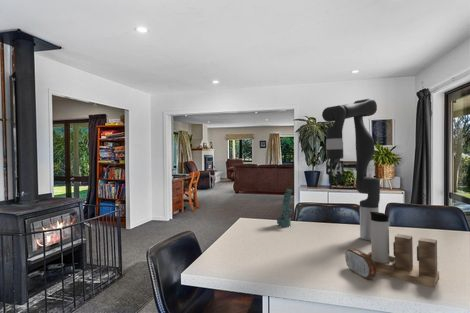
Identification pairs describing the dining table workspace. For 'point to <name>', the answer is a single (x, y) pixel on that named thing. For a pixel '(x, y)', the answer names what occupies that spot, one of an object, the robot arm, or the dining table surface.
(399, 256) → the brown wooden piece
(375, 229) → the travel mug
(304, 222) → the dining table surface
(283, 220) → the teal textured tall figure
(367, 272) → the tin
